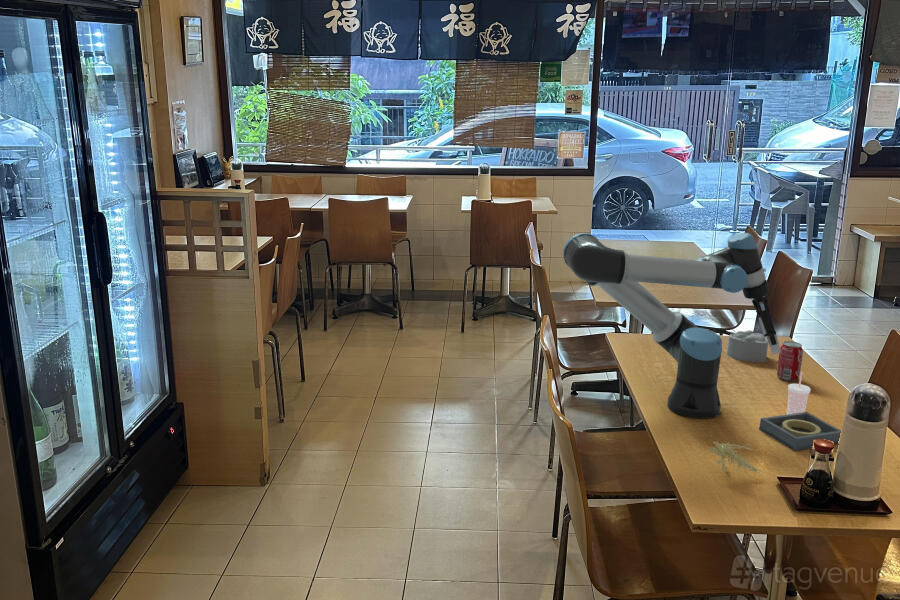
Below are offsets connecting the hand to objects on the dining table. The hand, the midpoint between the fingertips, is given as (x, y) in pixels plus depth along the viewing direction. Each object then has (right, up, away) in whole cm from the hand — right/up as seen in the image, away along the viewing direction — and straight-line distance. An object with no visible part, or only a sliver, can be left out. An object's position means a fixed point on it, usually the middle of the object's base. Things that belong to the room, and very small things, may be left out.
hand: (772, 343), depth 251 cm
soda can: (+12, -12, +17) cm, 24 cm away
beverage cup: (+1, -21, -13) cm, 24 cm away
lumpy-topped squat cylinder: (+5, -7, +37) cm, 38 cm away
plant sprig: (-29, -30, -49) cm, 64 cm away
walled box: (-3, -24, -27) cm, 36 cm away
